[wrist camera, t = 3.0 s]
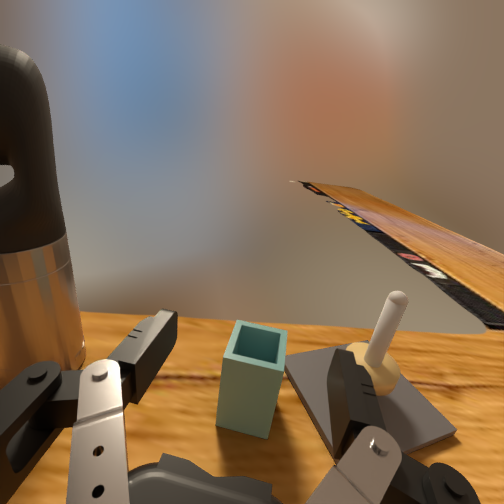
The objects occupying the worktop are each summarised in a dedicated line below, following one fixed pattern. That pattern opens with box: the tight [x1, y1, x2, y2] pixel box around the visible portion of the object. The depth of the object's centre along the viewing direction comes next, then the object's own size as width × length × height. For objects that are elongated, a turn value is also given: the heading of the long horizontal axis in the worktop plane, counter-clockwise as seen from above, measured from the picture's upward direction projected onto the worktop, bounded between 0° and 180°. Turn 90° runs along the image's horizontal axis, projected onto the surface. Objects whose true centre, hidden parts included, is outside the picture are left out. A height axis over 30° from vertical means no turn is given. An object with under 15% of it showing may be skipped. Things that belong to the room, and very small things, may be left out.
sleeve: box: [215, 320, 287, 440], centre depth 29 cm, size 6×6×10 cm
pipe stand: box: [284, 291, 457, 465], centre depth 32 cm, size 16×15×16 cm
